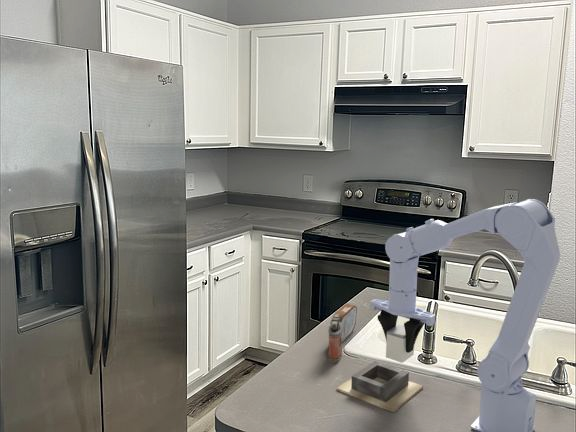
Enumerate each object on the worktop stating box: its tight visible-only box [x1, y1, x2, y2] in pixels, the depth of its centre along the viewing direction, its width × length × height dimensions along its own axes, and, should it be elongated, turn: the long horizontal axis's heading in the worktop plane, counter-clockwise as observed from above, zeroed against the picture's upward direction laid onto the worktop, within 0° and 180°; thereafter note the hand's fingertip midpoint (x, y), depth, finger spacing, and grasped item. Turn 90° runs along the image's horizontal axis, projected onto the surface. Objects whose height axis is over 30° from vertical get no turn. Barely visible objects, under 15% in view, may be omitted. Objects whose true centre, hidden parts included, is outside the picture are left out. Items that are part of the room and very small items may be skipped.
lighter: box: [327, 313, 343, 364], centre depth 133 cm, size 8×3×10 cm, turn 168°
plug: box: [385, 324, 415, 364], centre depth 116 cm, size 4×5×6 cm
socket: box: [336, 360, 424, 414], centre depth 117 cm, size 14×13×4 cm
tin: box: [329, 302, 358, 343], centre depth 144 cm, size 15×3×8 cm, turn 153°
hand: (400, 347), depth 117 cm, fingers closed on plug, 4 cm apart
